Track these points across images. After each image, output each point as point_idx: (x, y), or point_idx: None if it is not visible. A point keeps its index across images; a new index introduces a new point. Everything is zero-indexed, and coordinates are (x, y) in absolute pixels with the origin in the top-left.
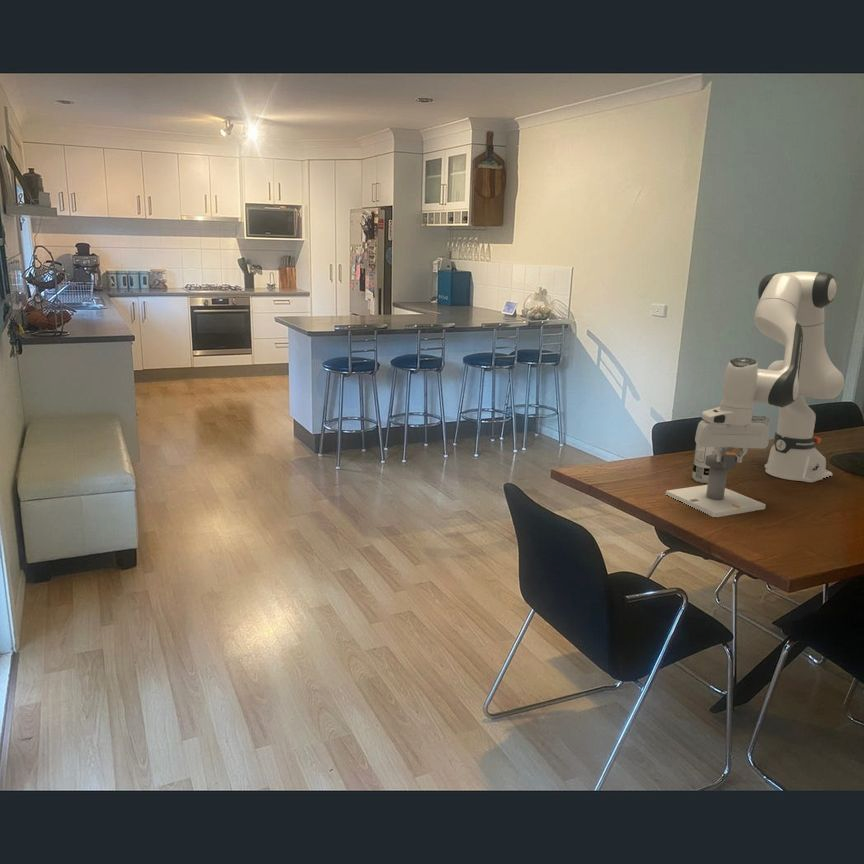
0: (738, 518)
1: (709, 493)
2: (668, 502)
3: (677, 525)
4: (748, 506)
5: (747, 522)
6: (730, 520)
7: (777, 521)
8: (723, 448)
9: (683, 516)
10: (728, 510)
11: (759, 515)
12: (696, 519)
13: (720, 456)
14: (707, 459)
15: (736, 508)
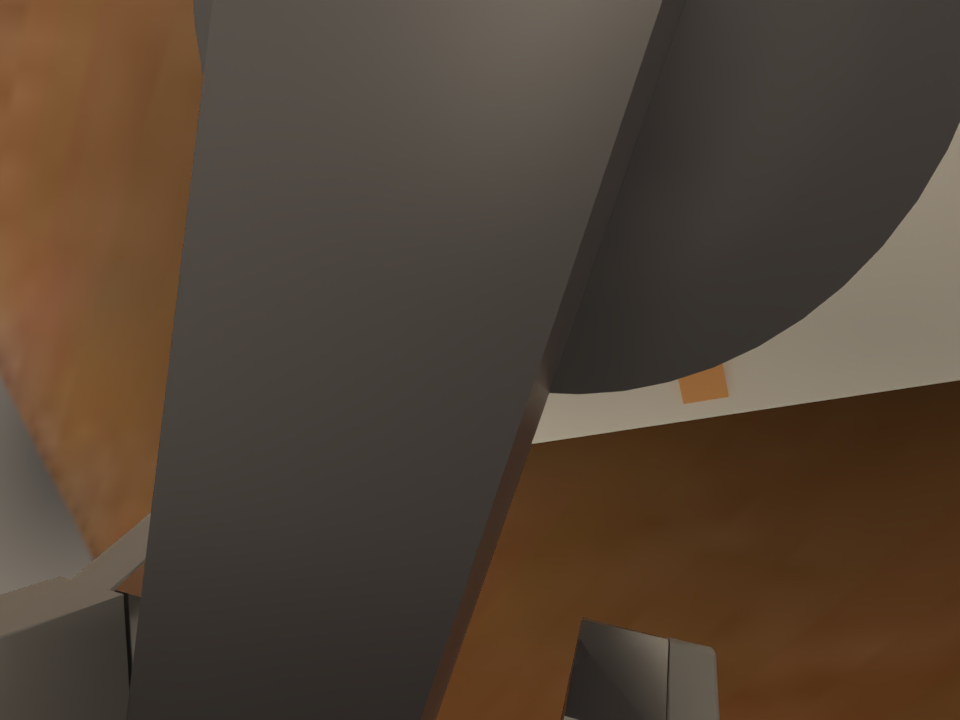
0: (606, 495)
1: None
2: (141, 19)
3: (76, 513)
4: (844, 381)
5: (628, 581)
6: (507, 517)
7: (938, 624)
8: (246, 520)
9: (166, 374)
10: (541, 442)
11: (876, 474)
12: None
13: (103, 717)
14: (204, 32)
15: (660, 410)
